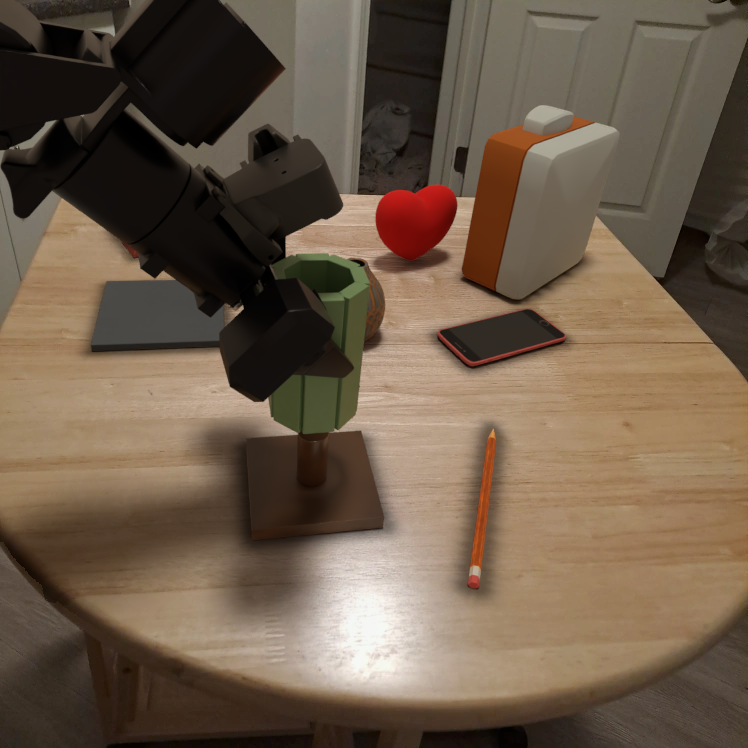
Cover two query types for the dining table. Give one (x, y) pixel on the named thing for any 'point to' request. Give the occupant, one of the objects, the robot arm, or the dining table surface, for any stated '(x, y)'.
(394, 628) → the dining table surface
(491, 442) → the pencil
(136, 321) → the grey pad
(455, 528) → the dining table surface
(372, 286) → the vase
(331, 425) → the green octagonal pen cup
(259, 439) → the peg stand
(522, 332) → the smartphone
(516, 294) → the alarm clock
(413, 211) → the heart
